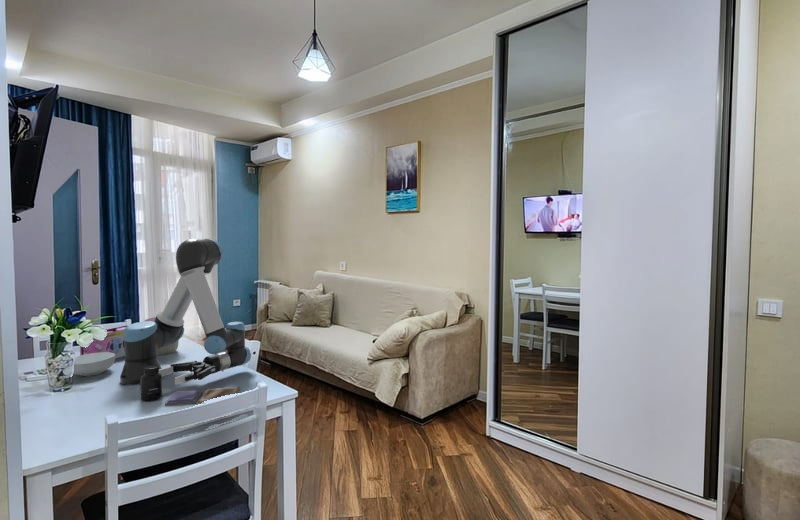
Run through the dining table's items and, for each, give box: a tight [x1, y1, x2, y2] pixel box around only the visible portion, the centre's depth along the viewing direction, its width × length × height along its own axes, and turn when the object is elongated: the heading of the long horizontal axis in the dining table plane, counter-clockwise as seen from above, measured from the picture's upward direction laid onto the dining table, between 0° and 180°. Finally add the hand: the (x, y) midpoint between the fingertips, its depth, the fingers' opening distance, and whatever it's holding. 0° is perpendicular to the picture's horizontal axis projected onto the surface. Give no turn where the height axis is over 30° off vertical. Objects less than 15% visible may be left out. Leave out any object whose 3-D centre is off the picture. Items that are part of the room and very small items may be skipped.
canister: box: [144, 316, 180, 356], centre depth 213 cm, size 18×18×21 cm
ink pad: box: [164, 389, 203, 407], centre depth 153 cm, size 10×10×2 cm
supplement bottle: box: [140, 365, 163, 403], centre depth 153 cm, size 7×7×12 cm
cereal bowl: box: [73, 352, 116, 377], centre depth 181 cm, size 17×17×7 cm
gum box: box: [79, 325, 128, 359], centre depth 203 cm, size 24×8×14 cm, turn 159°
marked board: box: [196, 386, 240, 405], centre depth 157 cm, size 12×12×1 cm
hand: (165, 377), depth 157 cm, fingers open, 13 cm apart
